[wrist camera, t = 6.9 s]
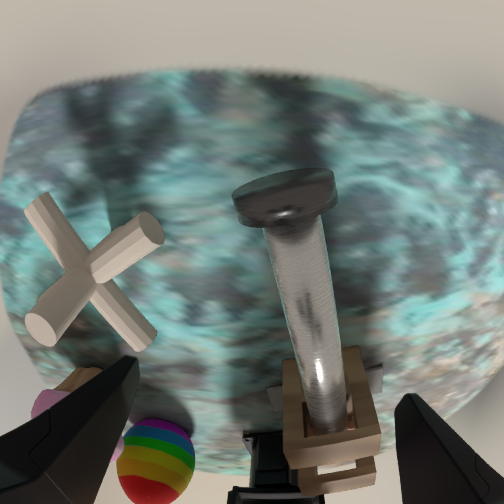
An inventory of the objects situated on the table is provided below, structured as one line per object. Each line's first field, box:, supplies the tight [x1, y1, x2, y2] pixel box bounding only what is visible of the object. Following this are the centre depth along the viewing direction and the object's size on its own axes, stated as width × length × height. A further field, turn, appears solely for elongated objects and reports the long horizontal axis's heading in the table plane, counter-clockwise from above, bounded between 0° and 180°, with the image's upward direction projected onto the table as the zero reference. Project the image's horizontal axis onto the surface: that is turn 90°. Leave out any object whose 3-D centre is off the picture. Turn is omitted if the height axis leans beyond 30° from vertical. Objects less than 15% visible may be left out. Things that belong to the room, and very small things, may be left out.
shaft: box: [232, 168, 349, 436], centre depth 15 cm, size 17×4×4 cm, turn 15°
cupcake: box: [31, 367, 124, 462], centre depth 22 cm, size 9×9×10 cm
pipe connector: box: [24, 192, 165, 352], centre depth 16 cm, size 10×10×10 cm
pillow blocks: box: [282, 346, 381, 497], centre depth 22 cm, size 10×6×8 cm, turn 15°
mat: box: [266, 366, 383, 412], centre depth 25 cm, size 3×10×1 cm, turn 105°
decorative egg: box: [117, 419, 195, 504], centre depth 26 cm, size 8×8×10 cm
